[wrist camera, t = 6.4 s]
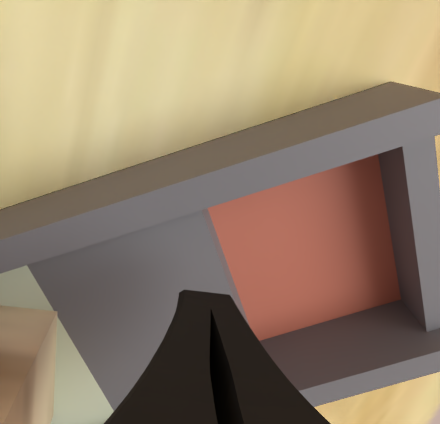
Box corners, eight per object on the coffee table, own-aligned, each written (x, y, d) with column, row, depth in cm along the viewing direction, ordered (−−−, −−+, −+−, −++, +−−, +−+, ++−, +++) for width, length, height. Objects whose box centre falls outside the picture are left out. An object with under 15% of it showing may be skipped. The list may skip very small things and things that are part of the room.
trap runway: (-153, 472, 20) (-219, 556, 17) (-322, 314, 16) (-450, 385, 13) (421, 305, 18) (471, 362, 15) (391, 81, 14) (449, 95, 11)
